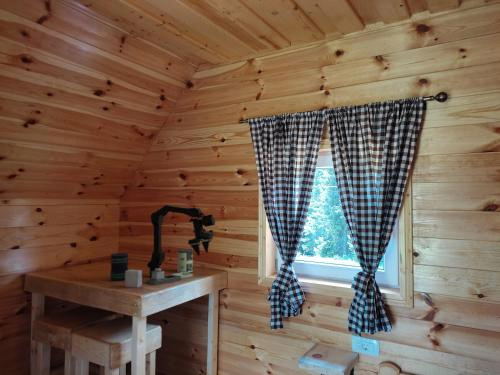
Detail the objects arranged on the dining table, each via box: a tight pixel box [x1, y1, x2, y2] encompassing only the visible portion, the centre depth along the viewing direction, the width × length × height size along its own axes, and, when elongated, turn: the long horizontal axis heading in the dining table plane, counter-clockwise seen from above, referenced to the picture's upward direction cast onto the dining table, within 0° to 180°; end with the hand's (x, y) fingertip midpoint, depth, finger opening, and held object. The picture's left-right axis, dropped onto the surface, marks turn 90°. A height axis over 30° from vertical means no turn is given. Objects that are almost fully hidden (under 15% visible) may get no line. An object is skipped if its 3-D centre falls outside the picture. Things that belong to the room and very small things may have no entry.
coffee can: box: [176, 248, 194, 273], centre depth 242 cm, size 10×10×14 cm
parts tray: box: [171, 272, 194, 280], centre depth 225 cm, size 9×9×2 cm
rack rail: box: [145, 273, 182, 286], centre depth 212 cm, size 9×18×2 cm, turn 139°
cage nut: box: [152, 267, 165, 281], centre depth 209 cm, size 5×5×8 cm
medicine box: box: [124, 269, 143, 288], centre depth 200 cm, size 8×4×9 cm, turn 75°
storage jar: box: [110, 252, 129, 282], centre depth 216 cm, size 10×10×15 cm
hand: (203, 253), depth 219 cm, fingers open, 9 cm apart
